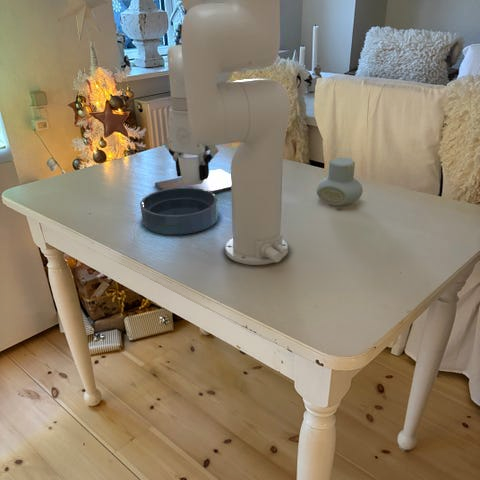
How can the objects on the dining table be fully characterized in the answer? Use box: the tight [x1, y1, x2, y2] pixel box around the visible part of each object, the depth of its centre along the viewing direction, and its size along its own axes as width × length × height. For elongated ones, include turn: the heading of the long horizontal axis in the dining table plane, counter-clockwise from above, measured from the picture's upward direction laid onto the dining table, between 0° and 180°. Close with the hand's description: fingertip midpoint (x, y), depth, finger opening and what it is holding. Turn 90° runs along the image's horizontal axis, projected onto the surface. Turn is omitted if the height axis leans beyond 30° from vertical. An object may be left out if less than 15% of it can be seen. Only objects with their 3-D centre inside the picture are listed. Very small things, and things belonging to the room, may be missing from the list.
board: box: [154, 168, 231, 195], centre depth 131 cm, size 14×20×1 cm
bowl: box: [139, 188, 219, 235], centre depth 112 cm, size 17×17×4 cm
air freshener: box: [316, 157, 364, 208], centre depth 117 cm, size 11×8×10 cm
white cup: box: [178, 153, 204, 185], centre depth 127 cm, size 7×7×7 cm
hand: (192, 176), depth 128 cm, fingers closed on white cup, 6 cm apart
